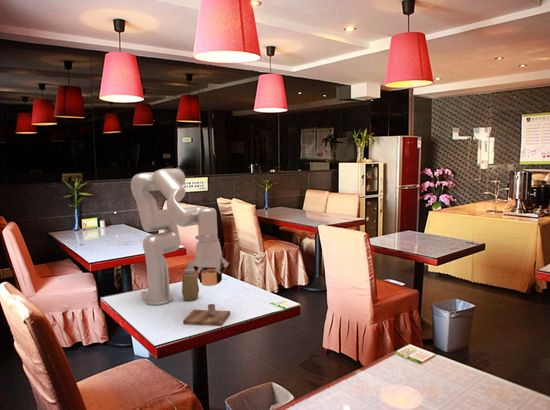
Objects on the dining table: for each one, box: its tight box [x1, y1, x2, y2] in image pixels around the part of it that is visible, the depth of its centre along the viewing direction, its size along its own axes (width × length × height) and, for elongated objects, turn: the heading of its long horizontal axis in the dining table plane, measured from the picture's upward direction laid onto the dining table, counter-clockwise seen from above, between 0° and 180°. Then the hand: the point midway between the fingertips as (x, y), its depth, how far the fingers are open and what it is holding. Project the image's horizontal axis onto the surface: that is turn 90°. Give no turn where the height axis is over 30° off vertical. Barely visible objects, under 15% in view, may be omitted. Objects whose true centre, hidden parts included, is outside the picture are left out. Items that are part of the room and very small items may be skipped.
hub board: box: [182, 303, 231, 327], centre depth 170 cm, size 16×12×6 cm
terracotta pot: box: [201, 268, 219, 287], centre depth 168 cm, size 7×7×6 cm
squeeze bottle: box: [181, 260, 200, 302], centre depth 195 cm, size 8×8×18 cm
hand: (210, 281), depth 168 cm, fingers closed on terracotta pot, 6 cm apart
